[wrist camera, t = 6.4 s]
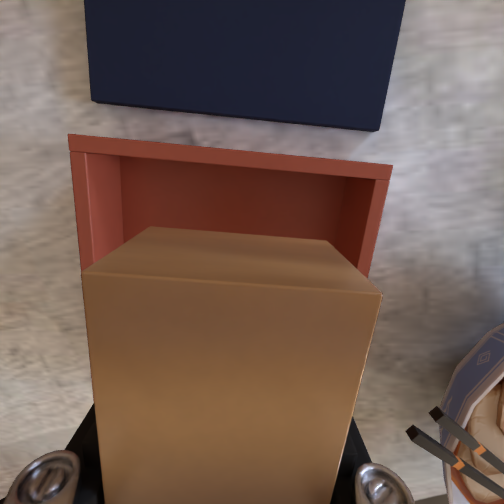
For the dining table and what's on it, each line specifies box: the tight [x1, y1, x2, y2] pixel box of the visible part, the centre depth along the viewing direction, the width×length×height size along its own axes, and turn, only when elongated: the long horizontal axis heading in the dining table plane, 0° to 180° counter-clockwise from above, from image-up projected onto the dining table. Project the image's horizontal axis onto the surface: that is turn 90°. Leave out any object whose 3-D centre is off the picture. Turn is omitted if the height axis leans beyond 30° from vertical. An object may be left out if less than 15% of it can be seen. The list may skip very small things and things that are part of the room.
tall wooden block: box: [81, 226, 383, 504], centre depth 9 cm, size 12×5×5 cm, turn 175°
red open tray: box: [68, 134, 393, 399], centre depth 19 cm, size 18×17×5 cm
